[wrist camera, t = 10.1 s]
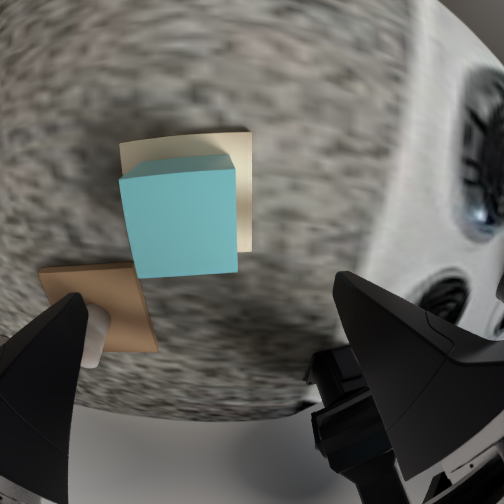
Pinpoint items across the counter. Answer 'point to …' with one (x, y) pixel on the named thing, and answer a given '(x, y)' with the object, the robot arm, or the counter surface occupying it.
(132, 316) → the post stand
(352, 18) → the counter surface
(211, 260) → the teal cube
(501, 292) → the french press
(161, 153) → the board
